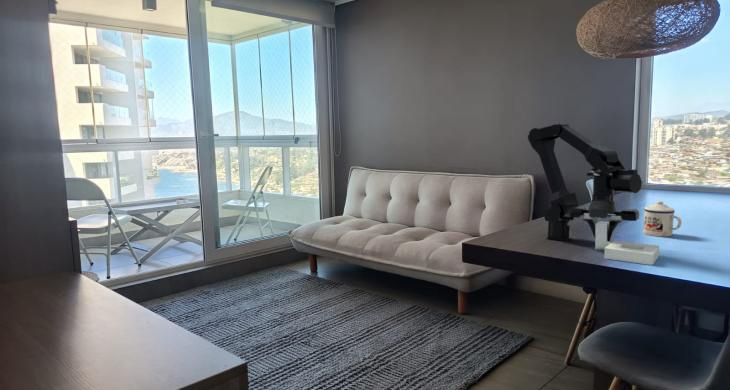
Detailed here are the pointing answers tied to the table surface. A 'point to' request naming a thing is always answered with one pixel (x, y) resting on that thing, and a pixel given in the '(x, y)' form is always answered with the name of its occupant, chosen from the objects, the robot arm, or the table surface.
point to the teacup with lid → (660, 220)
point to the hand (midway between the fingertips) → (602, 240)
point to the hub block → (632, 252)
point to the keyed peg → (601, 235)
